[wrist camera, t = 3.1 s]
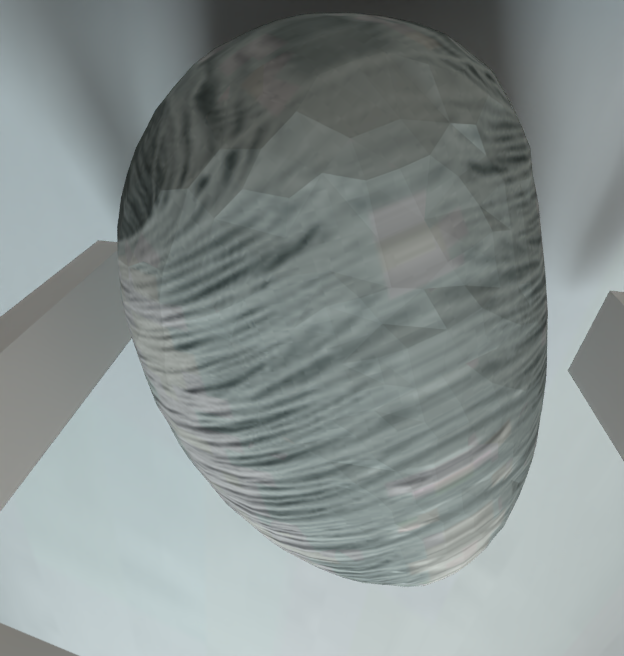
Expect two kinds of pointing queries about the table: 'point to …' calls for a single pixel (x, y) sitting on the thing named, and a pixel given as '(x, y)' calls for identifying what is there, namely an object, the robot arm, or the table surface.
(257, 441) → the streaked grey egg
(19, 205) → the table surface
